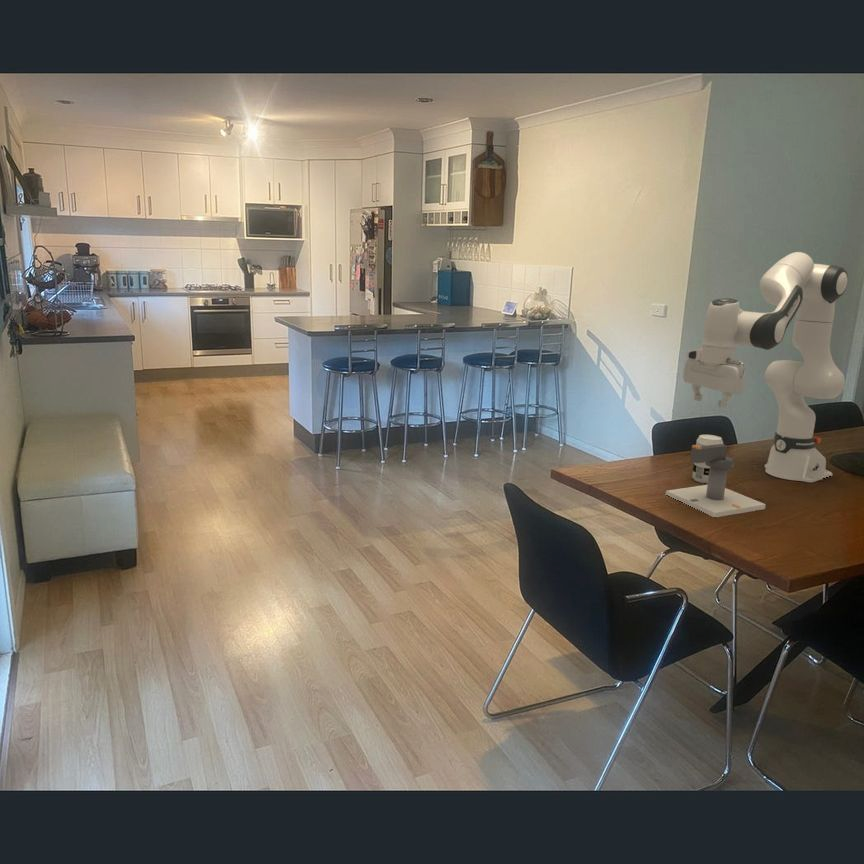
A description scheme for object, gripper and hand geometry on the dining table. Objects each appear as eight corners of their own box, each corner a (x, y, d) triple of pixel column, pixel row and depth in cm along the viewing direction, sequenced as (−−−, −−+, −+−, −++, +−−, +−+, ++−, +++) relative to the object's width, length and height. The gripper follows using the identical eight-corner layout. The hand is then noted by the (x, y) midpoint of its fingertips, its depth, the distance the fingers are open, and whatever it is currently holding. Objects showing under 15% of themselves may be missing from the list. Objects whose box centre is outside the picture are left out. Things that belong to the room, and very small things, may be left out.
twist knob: (718, 460, 215) (721, 438, 214) (739, 467, 208) (742, 445, 207) (682, 464, 210) (685, 442, 208) (702, 472, 203) (705, 450, 201)
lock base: (713, 488, 226) (718, 453, 223) (764, 509, 208) (770, 472, 206) (665, 495, 218) (669, 459, 215) (714, 517, 201) (719, 479, 198)
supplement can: (694, 475, 239) (699, 432, 235) (719, 479, 235) (725, 436, 231) (689, 481, 232) (694, 437, 228) (715, 486, 228) (721, 441, 224)
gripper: (753, 361, 192) (746, 410, 195) (698, 351, 210) (692, 396, 213) (736, 362, 189) (729, 411, 193) (682, 351, 208) (676, 397, 211)
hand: (709, 403), depth 203 cm, fingers open, 8 cm apart
